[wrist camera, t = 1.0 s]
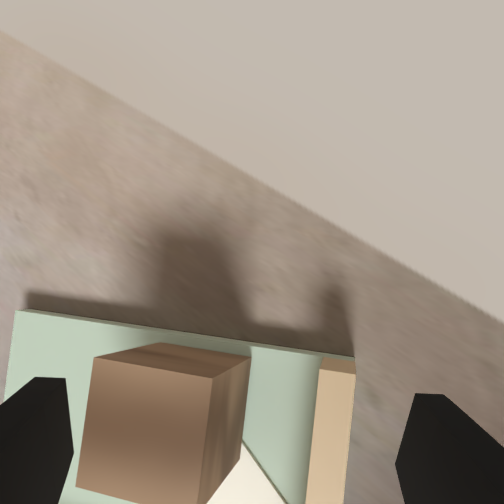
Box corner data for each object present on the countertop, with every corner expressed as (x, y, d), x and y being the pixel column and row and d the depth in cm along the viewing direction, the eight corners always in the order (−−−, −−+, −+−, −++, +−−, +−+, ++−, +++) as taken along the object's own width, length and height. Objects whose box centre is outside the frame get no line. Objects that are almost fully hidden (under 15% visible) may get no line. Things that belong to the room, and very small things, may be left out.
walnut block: (239, 459, 22) (195, 518, 16) (147, 438, 23) (75, 486, 17) (252, 356, 22) (212, 378, 16) (160, 341, 23) (93, 357, 18)
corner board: (325, 642, 22) (320, 726, 18) (-1, 547, 26) (-67, 597, 22) (354, 357, 22) (356, 374, 18) (30, 308, 27) (-29, 314, 22)
